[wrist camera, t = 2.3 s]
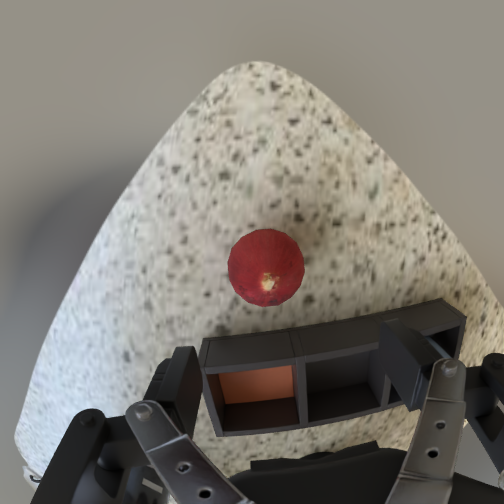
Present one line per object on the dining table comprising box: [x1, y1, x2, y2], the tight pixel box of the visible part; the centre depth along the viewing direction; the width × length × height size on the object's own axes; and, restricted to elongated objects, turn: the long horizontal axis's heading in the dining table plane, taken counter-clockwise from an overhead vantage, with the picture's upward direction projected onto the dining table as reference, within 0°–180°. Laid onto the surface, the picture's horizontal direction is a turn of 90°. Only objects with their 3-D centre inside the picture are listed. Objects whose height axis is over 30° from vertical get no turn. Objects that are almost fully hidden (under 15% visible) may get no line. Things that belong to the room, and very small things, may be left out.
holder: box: [198, 298, 467, 437], centre depth 27 cm, size 26×9×5 cm, turn 98°
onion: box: [228, 229, 305, 307], centre depth 23 cm, size 6×6×8 cm
